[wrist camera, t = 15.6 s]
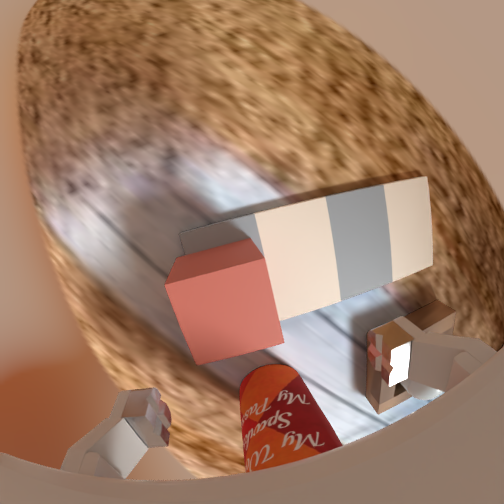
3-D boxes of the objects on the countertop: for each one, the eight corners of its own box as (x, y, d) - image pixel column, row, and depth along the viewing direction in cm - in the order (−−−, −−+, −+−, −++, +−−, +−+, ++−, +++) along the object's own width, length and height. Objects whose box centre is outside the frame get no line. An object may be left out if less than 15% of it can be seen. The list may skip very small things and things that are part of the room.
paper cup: (275, 337, 21) (344, 494, 7) (327, 380, 23) (396, 498, 9) (207, 391, 21) (217, 540, 8) (265, 425, 23) (299, 544, 10)
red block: (250, 237, 18) (264, 257, 13) (267, 305, 19) (284, 342, 14) (176, 257, 17) (164, 284, 13) (198, 323, 19) (196, 365, 14)
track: (422, 176, 19) (427, 176, 19) (428, 263, 21) (432, 264, 21) (180, 232, 18) (178, 234, 17) (213, 334, 20) (213, 338, 19)
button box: (437, 299, 23) (456, 311, 20) (428, 364, 25) (442, 377, 22) (366, 332, 22) (383, 350, 19) (365, 397, 24) (378, 414, 22)
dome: (425, 326, 23) (465, 357, 16) (420, 361, 24) (454, 393, 18) (388, 345, 22) (427, 383, 16) (385, 379, 23) (417, 418, 17)
